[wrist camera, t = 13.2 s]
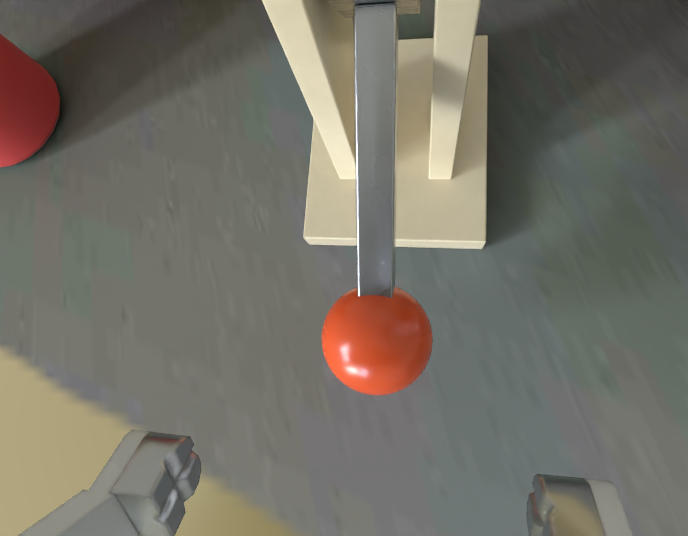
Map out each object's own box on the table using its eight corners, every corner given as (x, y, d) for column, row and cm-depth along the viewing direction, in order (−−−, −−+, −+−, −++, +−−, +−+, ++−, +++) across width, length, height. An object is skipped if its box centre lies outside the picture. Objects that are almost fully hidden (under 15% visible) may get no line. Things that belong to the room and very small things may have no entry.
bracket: (482, 249, 20) (579, 71, 8) (309, 244, 22) (161, 86, 9) (484, 51, 22) (564, -339, 10) (325, 59, 24) (220, -276, 11)
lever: (430, 362, 17) (430, 424, 13) (334, 355, 17) (312, 413, 14) (450, -101, 12) (458, -181, 9) (320, -87, 13) (281, -157, 10)
